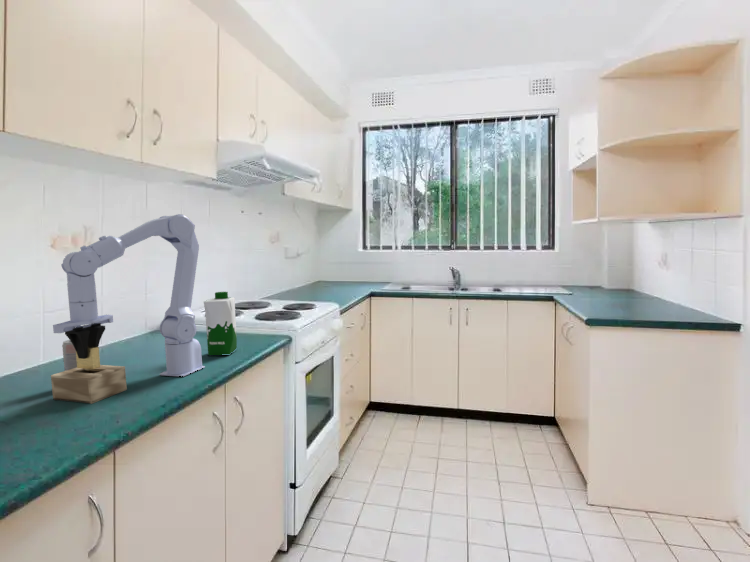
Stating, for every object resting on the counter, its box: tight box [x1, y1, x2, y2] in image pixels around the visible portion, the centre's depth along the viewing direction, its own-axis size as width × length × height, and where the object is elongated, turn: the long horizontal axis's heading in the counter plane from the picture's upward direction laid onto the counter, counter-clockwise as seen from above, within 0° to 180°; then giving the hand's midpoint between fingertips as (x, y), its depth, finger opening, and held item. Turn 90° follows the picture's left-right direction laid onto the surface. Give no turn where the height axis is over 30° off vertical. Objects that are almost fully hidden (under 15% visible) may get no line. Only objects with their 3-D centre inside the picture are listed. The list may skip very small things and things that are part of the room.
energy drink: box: [61, 339, 77, 371], centre depth 121 cm, size 5×5×12 cm
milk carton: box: [203, 291, 238, 356], centre depth 151 cm, size 9×9×20 cm
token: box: [76, 346, 101, 369], centre depth 113 cm, size 2×5×5 cm, turn 73°
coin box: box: [50, 364, 128, 404], centre depth 113 cm, size 10×12×6 cm
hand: (87, 356), depth 113 cm, fingers closed on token, 2 cm apart
